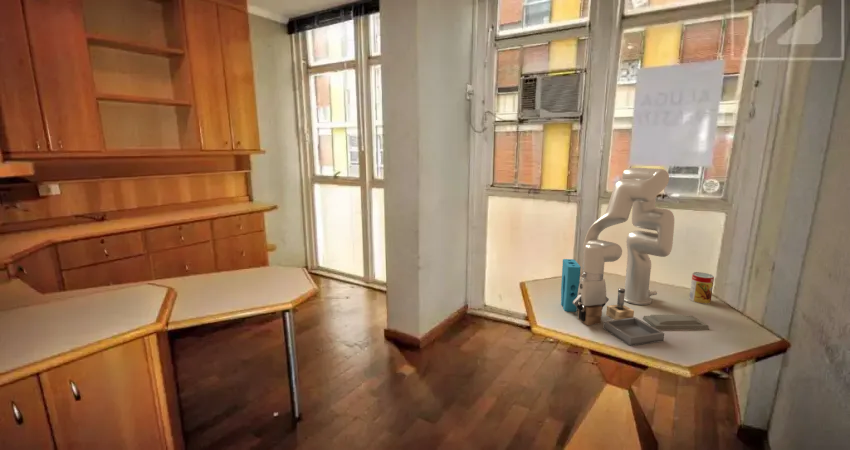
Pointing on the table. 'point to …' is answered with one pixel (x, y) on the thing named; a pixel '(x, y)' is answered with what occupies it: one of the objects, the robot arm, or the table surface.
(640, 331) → the tray
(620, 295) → the gauge pin
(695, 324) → the soap mold
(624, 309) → the oak block
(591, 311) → the walnut block
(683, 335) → the table surface
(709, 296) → the canned food
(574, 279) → the block
